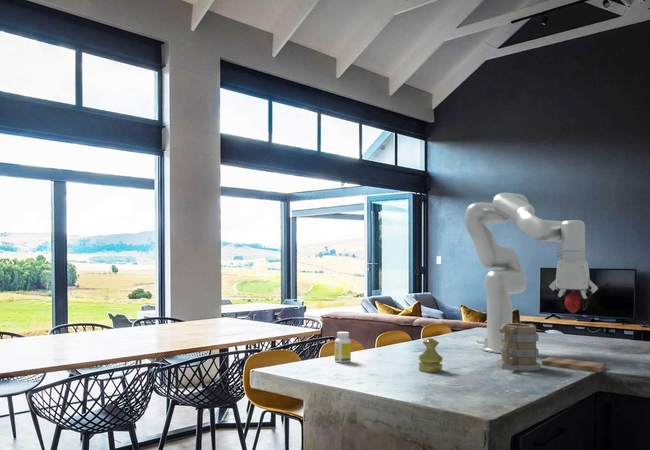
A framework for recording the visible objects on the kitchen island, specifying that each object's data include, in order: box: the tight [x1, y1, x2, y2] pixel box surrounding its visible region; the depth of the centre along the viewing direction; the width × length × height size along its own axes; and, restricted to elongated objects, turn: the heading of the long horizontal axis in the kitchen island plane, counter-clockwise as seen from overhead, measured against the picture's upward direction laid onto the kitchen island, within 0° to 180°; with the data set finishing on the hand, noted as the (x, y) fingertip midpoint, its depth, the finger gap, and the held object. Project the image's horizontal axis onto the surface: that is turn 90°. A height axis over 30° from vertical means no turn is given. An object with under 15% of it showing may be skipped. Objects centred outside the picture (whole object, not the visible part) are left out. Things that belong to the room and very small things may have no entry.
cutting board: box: [541, 356, 607, 373], centre depth 187 cm, size 18×10×2 cm, turn 54°
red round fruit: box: [564, 290, 582, 314], centre depth 188 cm, size 6×6×8 cm
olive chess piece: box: [418, 337, 443, 374], centre depth 175 cm, size 7×7×10 cm
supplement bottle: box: [334, 331, 352, 364], centre depth 187 cm, size 5×5×10 cm
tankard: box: [496, 322, 542, 372], centre depth 181 cm, size 20×13×15 cm, turn 134°
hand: (573, 309), depth 188 cm, fingers closed on red round fruit, 5 cm apart
